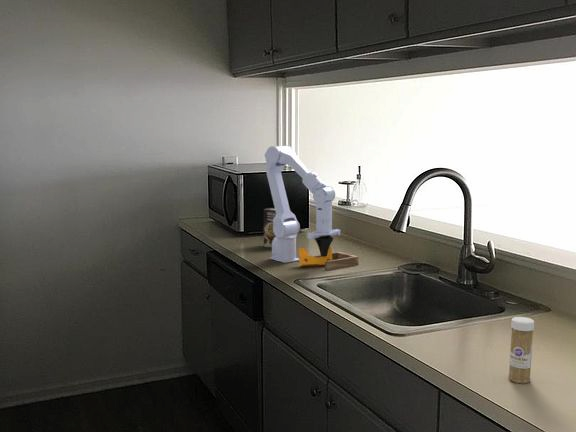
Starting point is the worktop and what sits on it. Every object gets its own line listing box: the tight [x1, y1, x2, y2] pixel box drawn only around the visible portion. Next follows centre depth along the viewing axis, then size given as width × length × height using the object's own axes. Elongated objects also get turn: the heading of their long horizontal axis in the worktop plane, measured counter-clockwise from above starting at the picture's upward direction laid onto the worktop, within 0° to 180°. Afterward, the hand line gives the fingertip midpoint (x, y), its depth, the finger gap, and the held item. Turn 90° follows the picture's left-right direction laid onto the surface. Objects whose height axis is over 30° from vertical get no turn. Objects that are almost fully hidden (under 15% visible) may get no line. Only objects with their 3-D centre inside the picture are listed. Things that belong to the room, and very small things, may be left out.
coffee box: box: [263, 207, 286, 248], centre depth 286 cm, size 9×6×16 cm
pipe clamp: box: [298, 246, 333, 267], centre depth 250 cm, size 12×4×6 cm, turn 102°
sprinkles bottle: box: [508, 316, 535, 384], centre depth 143 cm, size 5×5×13 cm
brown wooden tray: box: [312, 251, 359, 271], centre depth 253 cm, size 11×16×3 cm
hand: (323, 256), depth 249 cm, fingers closed
